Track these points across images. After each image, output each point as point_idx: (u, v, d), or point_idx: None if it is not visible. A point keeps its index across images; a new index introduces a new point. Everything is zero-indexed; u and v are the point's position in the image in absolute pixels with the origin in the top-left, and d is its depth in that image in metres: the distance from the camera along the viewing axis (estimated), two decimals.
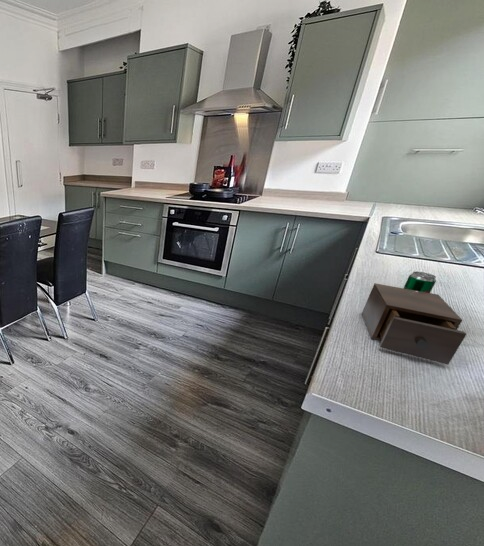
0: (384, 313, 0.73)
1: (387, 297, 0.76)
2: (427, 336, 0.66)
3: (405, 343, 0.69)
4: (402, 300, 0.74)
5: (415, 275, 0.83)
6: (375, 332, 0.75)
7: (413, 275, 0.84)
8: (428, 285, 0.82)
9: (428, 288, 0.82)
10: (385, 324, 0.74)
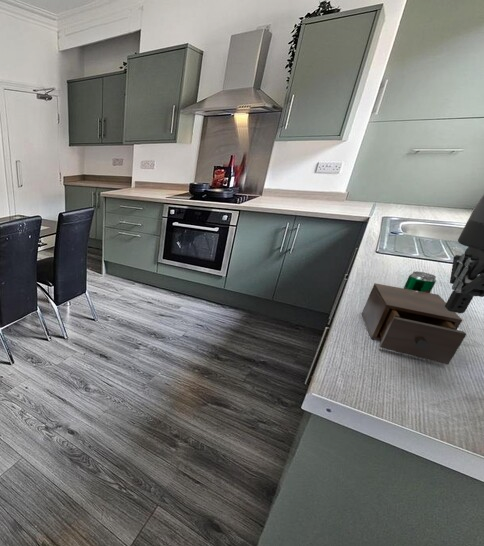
0: (384, 313, 0.73)
1: (387, 297, 0.76)
2: (427, 336, 0.66)
3: (405, 343, 0.69)
4: (402, 300, 0.74)
5: (415, 275, 0.83)
6: (375, 332, 0.75)
7: (413, 275, 0.84)
8: (428, 285, 0.82)
9: (428, 288, 0.82)
10: (385, 324, 0.74)
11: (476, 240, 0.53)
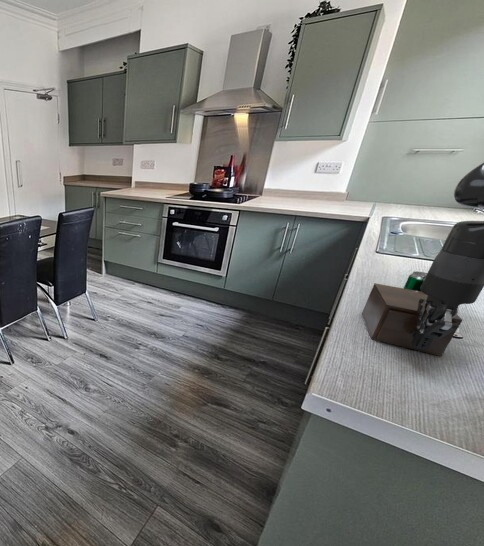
0: (384, 313, 0.73)
1: (387, 297, 0.76)
2: None
3: (400, 334, 0.72)
4: (402, 300, 0.74)
5: (415, 275, 0.83)
6: (375, 332, 0.75)
7: (413, 275, 0.84)
8: None
9: None
10: None
11: (434, 291, 0.62)
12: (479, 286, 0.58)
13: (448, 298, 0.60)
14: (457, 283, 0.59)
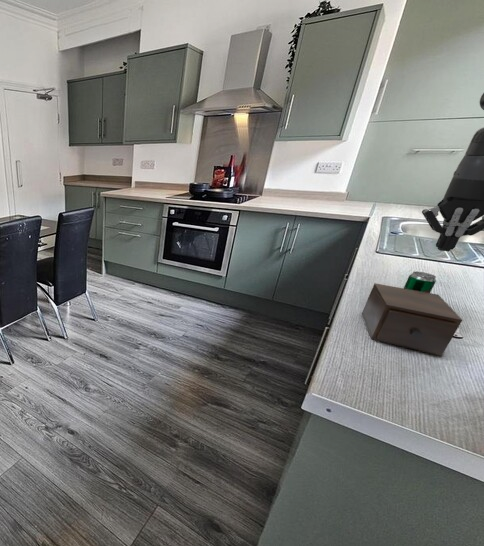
0: (384, 313, 0.73)
1: (387, 297, 0.76)
2: (421, 327, 0.69)
3: (400, 334, 0.72)
4: (402, 300, 0.74)
5: (415, 275, 0.83)
6: (375, 332, 0.75)
7: (413, 275, 0.84)
8: (428, 285, 0.82)
9: (428, 288, 0.82)
10: None
11: None
12: (463, 180, 0.69)
13: (445, 193, 0.73)
14: (452, 178, 0.72)
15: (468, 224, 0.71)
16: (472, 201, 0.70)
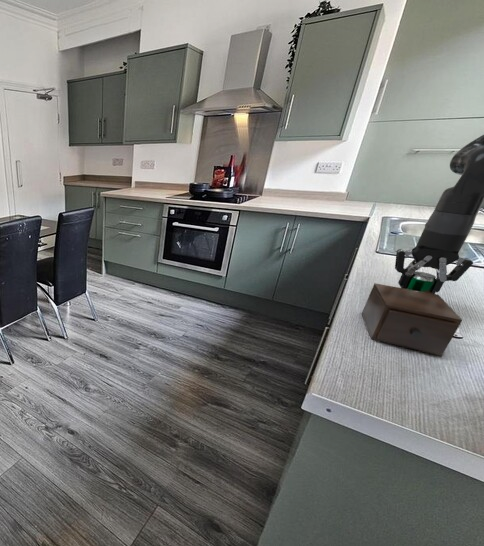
0: (384, 313, 0.73)
1: (387, 297, 0.76)
2: (421, 327, 0.69)
3: (400, 334, 0.72)
4: (402, 300, 0.74)
5: (415, 275, 0.83)
6: (375, 332, 0.75)
7: (413, 275, 0.84)
8: (428, 285, 0.82)
9: (428, 288, 0.82)
10: None
11: None
12: (431, 233, 0.78)
13: (418, 241, 0.82)
14: None
15: (444, 270, 0.80)
16: (440, 250, 0.79)
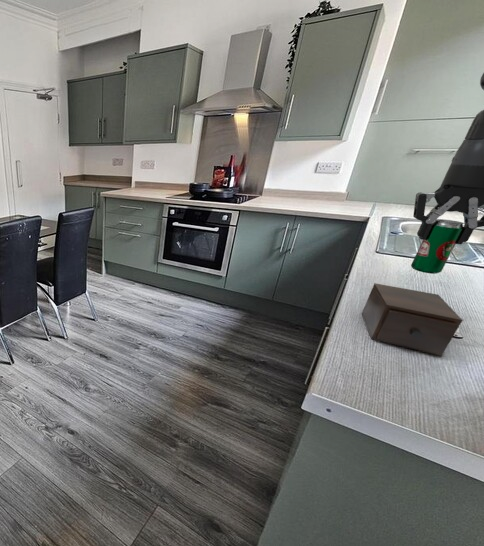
0: (384, 313, 0.73)
1: (387, 297, 0.76)
2: (421, 327, 0.69)
3: (400, 334, 0.72)
4: (402, 300, 0.74)
5: (438, 222, 0.70)
6: (375, 332, 0.75)
7: (435, 223, 0.70)
8: (454, 233, 0.68)
9: (454, 236, 0.68)
10: None
11: None
12: (460, 166, 0.65)
13: None
14: (450, 165, 0.67)
15: (475, 213, 0.66)
16: (470, 189, 0.66)
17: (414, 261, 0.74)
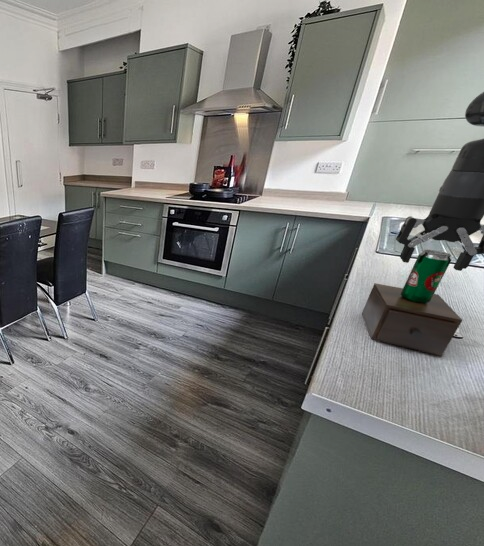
0: (384, 313, 0.73)
1: (387, 297, 0.76)
2: (421, 327, 0.69)
3: (400, 334, 0.72)
4: (402, 300, 0.74)
5: (426, 253, 0.70)
6: (375, 332, 0.75)
7: (424, 254, 0.71)
8: (442, 265, 0.69)
9: (442, 268, 0.69)
10: None
11: None
12: (448, 197, 0.65)
13: (431, 209, 0.69)
14: None
15: (469, 242, 0.66)
16: (458, 219, 0.66)
17: (403, 290, 0.75)
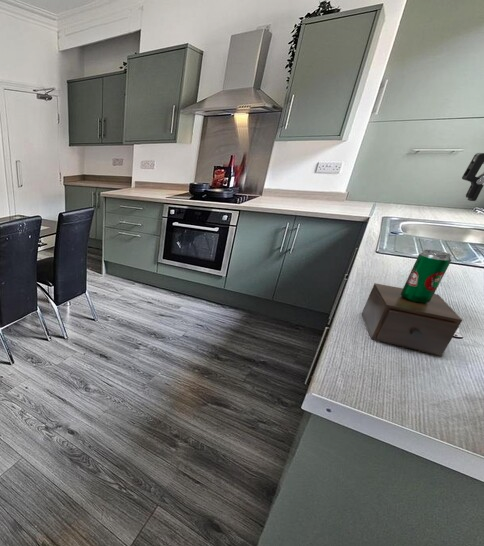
0: (384, 313, 0.73)
1: (387, 297, 0.76)
2: (421, 327, 0.69)
3: (400, 334, 0.72)
4: (402, 300, 0.74)
5: (426, 253, 0.70)
6: (375, 332, 0.75)
7: (424, 254, 0.71)
8: (442, 265, 0.69)
9: (442, 268, 0.69)
10: None
11: None
12: None
13: None
14: None
15: None
16: None
17: (403, 290, 0.75)
